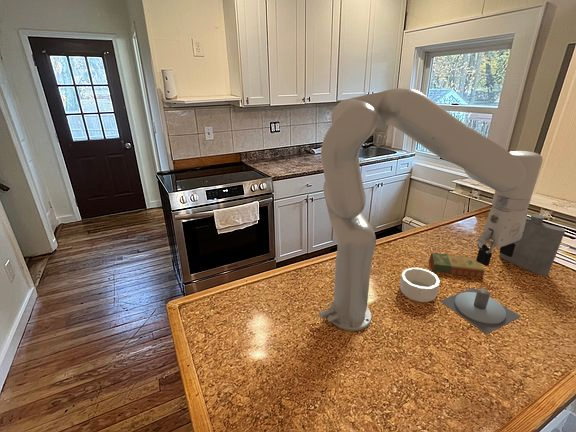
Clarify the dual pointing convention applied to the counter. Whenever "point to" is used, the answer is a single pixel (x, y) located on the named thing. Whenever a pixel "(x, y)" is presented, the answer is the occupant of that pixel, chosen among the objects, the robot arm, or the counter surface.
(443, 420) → the counter surface
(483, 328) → the mat
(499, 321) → the lid
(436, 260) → the carton
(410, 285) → the bowl
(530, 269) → the hip flask
